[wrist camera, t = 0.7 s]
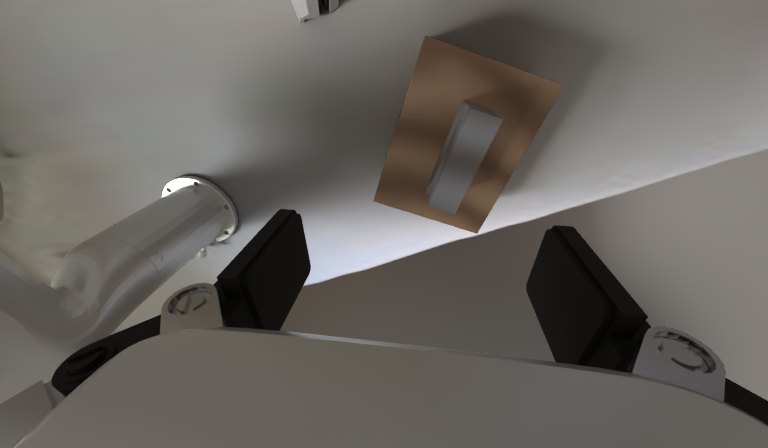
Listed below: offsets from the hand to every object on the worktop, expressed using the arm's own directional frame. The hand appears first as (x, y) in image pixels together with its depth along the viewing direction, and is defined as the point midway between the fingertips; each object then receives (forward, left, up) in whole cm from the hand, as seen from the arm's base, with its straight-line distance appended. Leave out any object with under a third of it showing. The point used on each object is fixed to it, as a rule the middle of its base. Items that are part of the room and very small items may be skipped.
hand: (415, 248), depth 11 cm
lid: (-1, -5, -23) cm, 24 cm away
